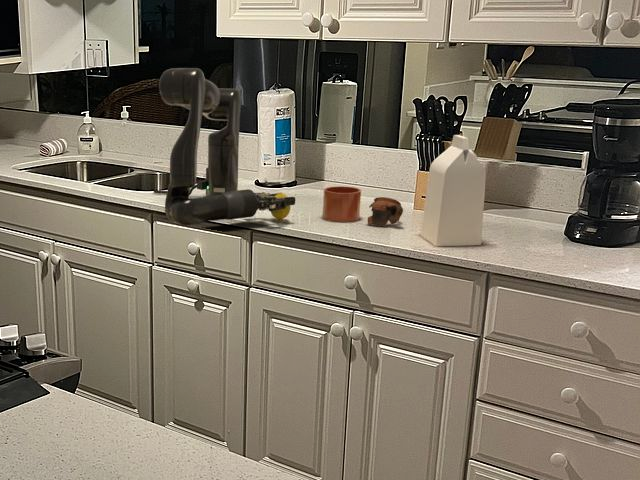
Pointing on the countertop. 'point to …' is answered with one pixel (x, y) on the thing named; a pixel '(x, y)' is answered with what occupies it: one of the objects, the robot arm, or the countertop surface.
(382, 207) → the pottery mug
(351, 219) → the crock
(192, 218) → the robot arm
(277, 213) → the lemon
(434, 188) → the milk
